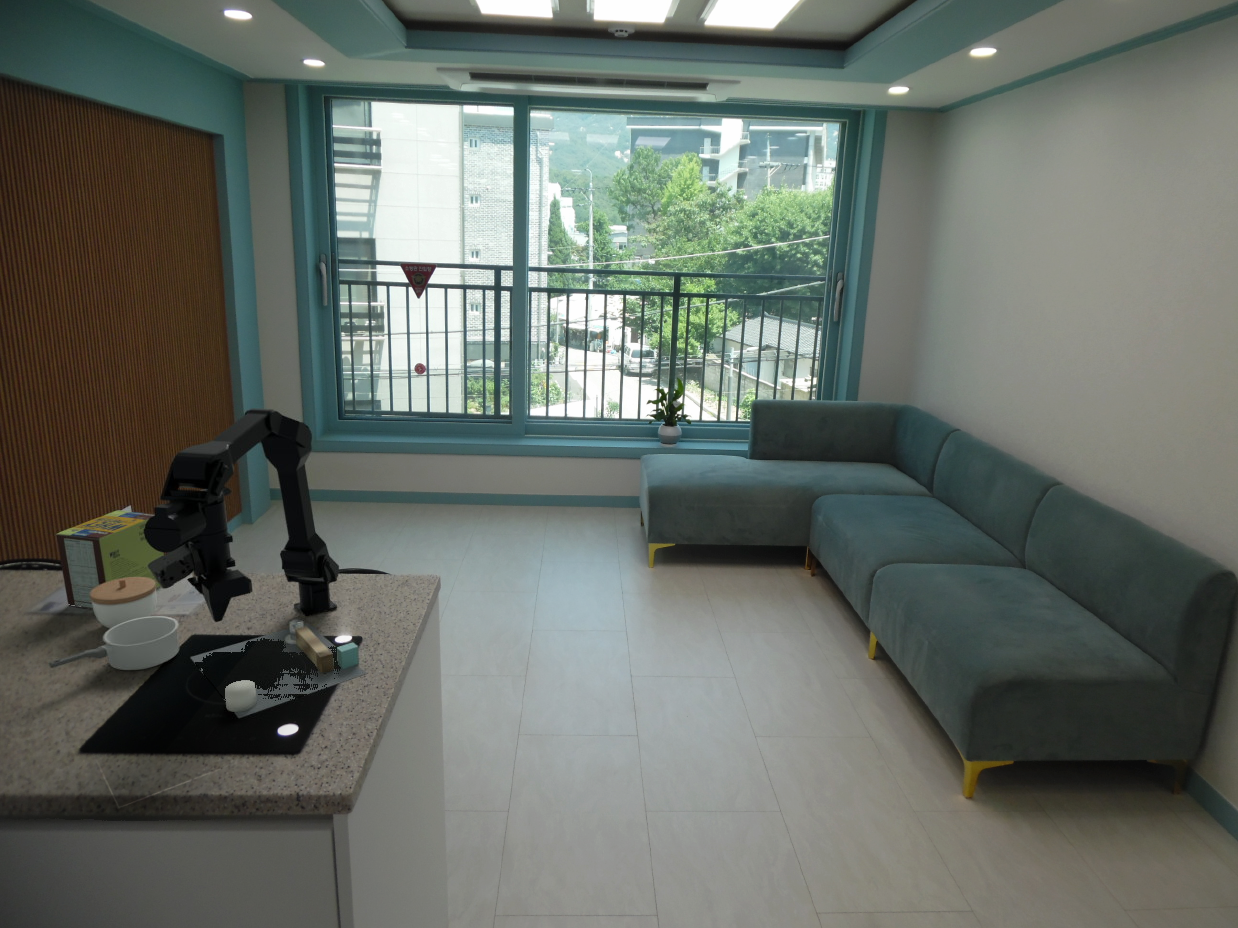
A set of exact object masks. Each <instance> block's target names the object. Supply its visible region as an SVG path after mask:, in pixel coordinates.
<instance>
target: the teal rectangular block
mask: <svg viewBox="0 0 1238 928" xmlns="http://www.w3.org/2000/svg"><path fill="white" fill-rule="evenodd" d="M336 647H337V646H336ZM337 661H338V665H339V666H340V667H341V668H342V669H345V668H347V667H350V666H353V665H356V664H357V665H359V664H360V656H359V646H358V645H357V644H356V643H355V642H353V641H352V642H350V643H346V644H343V645H340V646H338V647H337Z"/></svg>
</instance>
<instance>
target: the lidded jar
mask: <svg viewBox="0 0 1238 928" xmlns="http://www.w3.org/2000/svg"><path fill="white" fill-rule="evenodd" d="M157 598H158V597H157V588H156V582H155V581H154V580H153V579H150V578H146V577H127V578H120V579H116V580H112V581H108V582H105V583H103V584H100V585H98V586H96V587H95V588H94V589H92V590H91V592H90V599H91V601H92V606H93V609H92V610H93V613H94V615H95V618H96V619H97V621H99V623H100V624H101V625H102V626H103V627H106V628H107V629H108V630H109V629H111V628H112V627H114V626H116V625H118V624H120V623H123V622H126V621H129V620H133V619H137V618H142V617H150V616H153V615H154V614H155V611H156V608H157V603H158V602H157Z"/></svg>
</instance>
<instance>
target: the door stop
mask: <svg viewBox="0 0 1238 928" xmlns="http://www.w3.org/2000/svg"><path fill="white" fill-rule="evenodd" d="M225 699H226V702H225V706H226V710H227V711H229V712H240V711H245V710H248V709H250V708H252V707H253V706H255V705H256V703H257V698H256V689H255V683H254V682H253V681H250V680H241V681H236V682H233V683H231V684H229V685H228V686H226V688H225Z"/></svg>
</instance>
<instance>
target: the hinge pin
mask: <svg viewBox="0 0 1238 928" xmlns="http://www.w3.org/2000/svg"><path fill="white" fill-rule="evenodd" d="M303 624H304V620H303V619H298V618H297V619H292V620H290V621H289V622H288V627H289V628H290V635H288V636H286V637H285V642H286V643H289V644H296V633H295V629H298V628H301V627H304V626H303Z"/></svg>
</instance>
